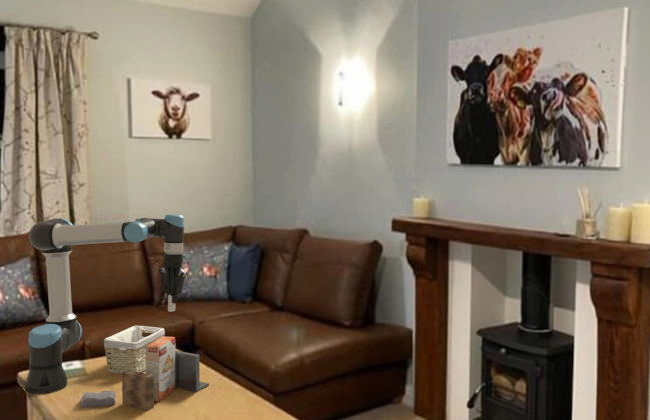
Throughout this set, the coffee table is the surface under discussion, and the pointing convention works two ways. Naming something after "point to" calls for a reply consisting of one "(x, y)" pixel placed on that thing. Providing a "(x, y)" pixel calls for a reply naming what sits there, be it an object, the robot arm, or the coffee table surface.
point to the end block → (137, 390)
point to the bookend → (188, 372)
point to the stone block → (98, 399)
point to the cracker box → (161, 366)
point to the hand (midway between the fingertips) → (171, 311)
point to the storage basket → (129, 348)
